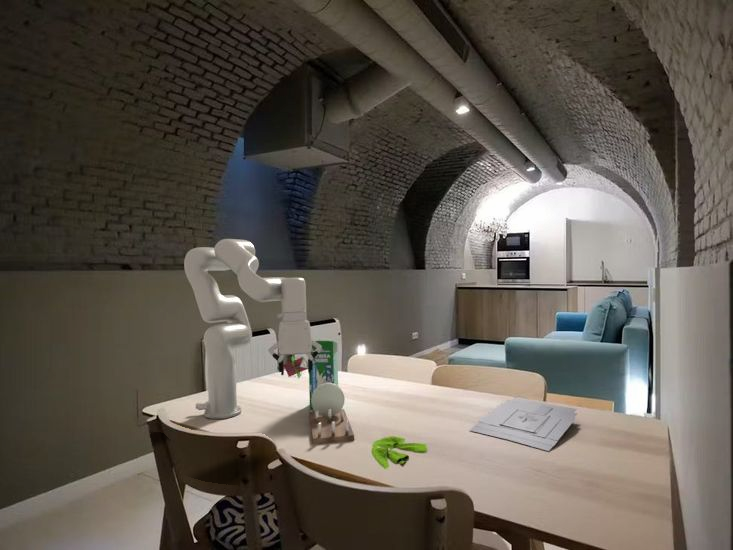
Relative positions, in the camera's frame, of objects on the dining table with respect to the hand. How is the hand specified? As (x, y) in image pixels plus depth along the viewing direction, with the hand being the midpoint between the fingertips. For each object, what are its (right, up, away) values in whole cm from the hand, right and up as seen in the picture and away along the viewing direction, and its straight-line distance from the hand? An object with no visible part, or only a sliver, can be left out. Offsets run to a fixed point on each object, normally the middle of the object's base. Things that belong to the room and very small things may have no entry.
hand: (296, 373), depth 135 cm
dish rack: (+10, -18, +3) cm, 21 cm away
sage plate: (+9, -16, +9) cm, 21 cm away
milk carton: (+6, -18, +25) cm, 31 cm away
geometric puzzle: (0, -1, 0) cm, 1 cm away
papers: (+72, -17, 0) cm, 74 cm away
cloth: (+31, -19, -17) cm, 40 cm away
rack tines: (+10, -16, +3) cm, 20 cm away
